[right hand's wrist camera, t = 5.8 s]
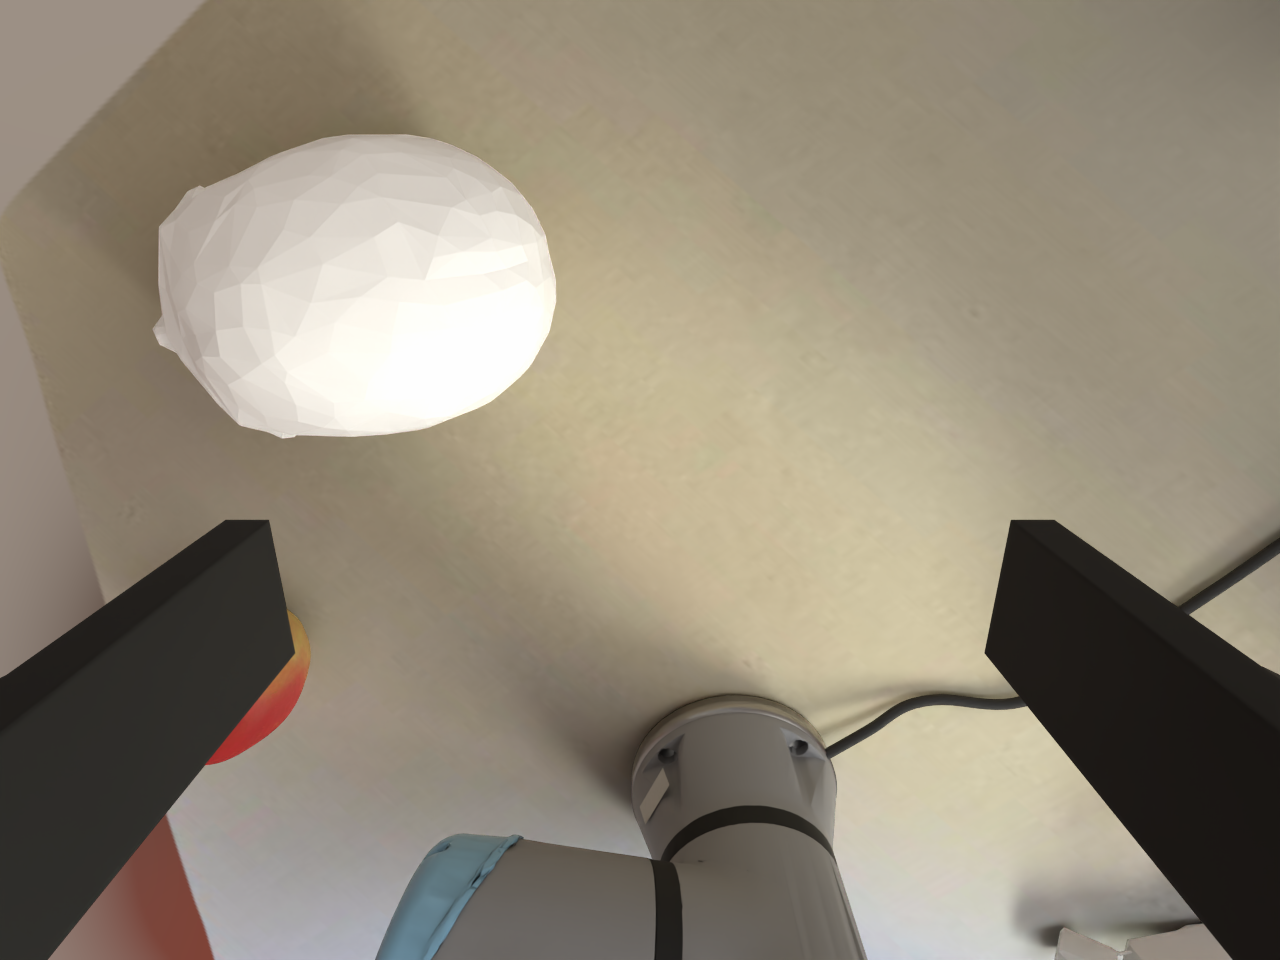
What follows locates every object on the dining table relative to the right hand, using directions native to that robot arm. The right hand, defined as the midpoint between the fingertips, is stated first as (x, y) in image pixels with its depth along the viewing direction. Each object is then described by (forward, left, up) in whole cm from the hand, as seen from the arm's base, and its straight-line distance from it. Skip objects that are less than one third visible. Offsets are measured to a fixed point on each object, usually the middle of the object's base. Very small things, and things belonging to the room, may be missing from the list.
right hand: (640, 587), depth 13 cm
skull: (+15, -4, -31) cm, 35 cm away
